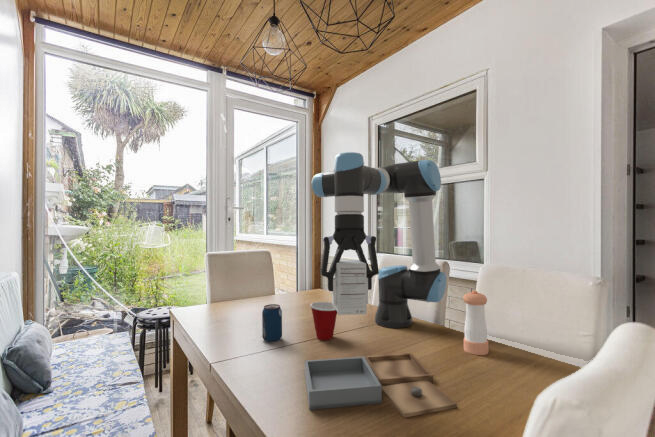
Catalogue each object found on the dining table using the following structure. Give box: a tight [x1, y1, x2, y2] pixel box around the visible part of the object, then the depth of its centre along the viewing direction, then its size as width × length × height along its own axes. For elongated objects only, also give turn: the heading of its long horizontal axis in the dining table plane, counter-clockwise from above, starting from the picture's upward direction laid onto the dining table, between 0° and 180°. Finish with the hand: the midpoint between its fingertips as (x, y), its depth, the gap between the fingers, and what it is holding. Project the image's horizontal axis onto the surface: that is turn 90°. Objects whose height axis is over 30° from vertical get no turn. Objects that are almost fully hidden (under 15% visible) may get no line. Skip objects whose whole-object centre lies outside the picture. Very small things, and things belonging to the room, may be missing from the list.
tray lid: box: [382, 380, 458, 419], centre depth 77 cm, size 13×12×2 cm
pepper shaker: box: [462, 289, 490, 356], centre depth 105 cm, size 7×7×19 cm
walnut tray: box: [363, 352, 434, 386], centre depth 91 cm, size 15×15×2 cm
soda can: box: [261, 303, 283, 344], centre depth 117 cm, size 7×7×12 cm
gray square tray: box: [304, 356, 383, 411], centre depth 82 cm, size 17×17×4 cm
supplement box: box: [334, 259, 368, 316], centre depth 84 cm, size 7×7×13 cm
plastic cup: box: [310, 301, 338, 341], centre depth 118 cm, size 11×11×12 cm
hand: (349, 303), depth 84 cm, fingers closed on supplement box, 7 cm apart
